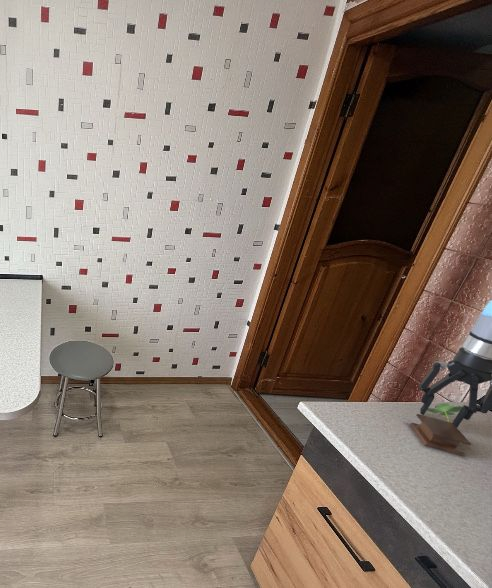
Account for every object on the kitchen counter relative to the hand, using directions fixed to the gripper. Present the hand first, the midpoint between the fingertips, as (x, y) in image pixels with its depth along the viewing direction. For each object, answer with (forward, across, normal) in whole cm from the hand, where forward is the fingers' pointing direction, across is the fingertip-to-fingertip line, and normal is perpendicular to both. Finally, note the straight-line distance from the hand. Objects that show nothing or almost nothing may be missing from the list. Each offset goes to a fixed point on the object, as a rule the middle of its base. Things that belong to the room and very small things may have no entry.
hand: (438, 418), depth 98 cm
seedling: (0, 0, 0) cm, 1 cm away
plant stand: (+1, +1, +11) cm, 11 cm away
